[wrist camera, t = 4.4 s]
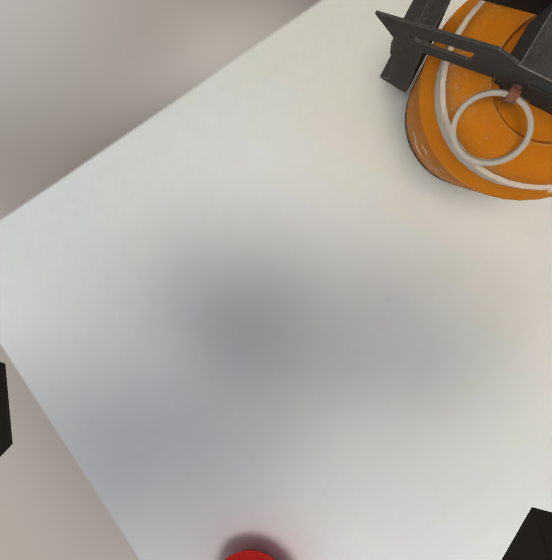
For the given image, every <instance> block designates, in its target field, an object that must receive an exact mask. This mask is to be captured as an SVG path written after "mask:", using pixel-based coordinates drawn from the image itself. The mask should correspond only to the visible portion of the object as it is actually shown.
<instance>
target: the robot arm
mask: <svg viewBox="0 0 552 560" xmlns="http://www.w3.org/2000/svg"><path fill="white" fill-rule="evenodd" d="M5 368H6V367H5V364H4V363H1V362H0V456H1V455H2V454H3V453H4V452H5V451H6V450H7V449H8V448H9V447H10V446H11V445H12V433H11V422H10V411H9V401H8V390H7V378H6V369H5ZM502 560H552V512H548V511H544V510H541V509H537V508H533V507H532V508H531V510H530V511H529V513H528V515H527V517H526V518H525V520H524V522H523V524H522V525H521V527H520V529H519V531H518V532H517V534H516V536H515V537H514V539H513V541H512V543H511V544H510V546H509V548H508V550H507V551H506V553H505V555H504V557H503V558H502Z"/></svg>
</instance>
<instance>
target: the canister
mask: <svg viewBox="0 0 552 560" xmlns="http://www.w3.org/2000/svg"><path fill="white" fill-rule="evenodd" d="M450 1H451V0H413V1H412V3H411V5H410V7H409V9H408V11H407V13H406V15H405V17H404V18H400V17H397V16H394V15H390V14H387V13H383V12H380V11H376V13H375V14H376V15H377V17H378V18H379V19H380V21H381V22H382V23H383V24H384V26H385V27H386V28H387V30H388V31H389V32H390V34H391V35H392V36H393V40H392V42H391V50H390V53H391V56H390V58H389V60H388V62H387V64H386V66H385V68H384V70H383V72H382V74H381V76H380V77H381V78H382V79H384V80H385V81H387V82H389V83H390V84H392V85H393V86H395V87H397V88H398V89H400V90H401V91H403V92H405V93H406V91H407V90H408V88H409V86H410V84H411V82H412V80H413V78H414V77H415V75H416V73H417V71H418V69H419V67H420V65H421V64H422V62H423V60H424V58H425V56H426V54H427V55H428V56H427V58H426V60H425V62H424V64H423V67H422V69H421V71H420V73H419V75H418V77H417V79H416V82H415V84H414V86H413V88H412V90H411V93H410V95H409V99H408V102H407V106H406V114H405V128H406V133H407V139H408V142H409V144H410V147H411V149H412V151H413V153H414V155H415V157H416V158H417V160H418V161H419V162H420V163H421V165H422V166H423V167H424V168H425V169H427V170H428V171H429V172H430V173H431V174H433V175H434V176H436V177H438V178H439V179H441V180H443V181H446V182H448V183H451V184H454V185H457V186H460V187H464V188H467V189H470V190H473V191H476V192H479V193H483V194H486V195H489V196H494V197H498V198H502V199H510V200H535V199H542V198H547V197H552V0H468V1H467V2H465V3H464V4H463V5H462V6H461V7H460V8H459V9H458V10H457V11H456V12H455V13H454V14H453V16H452V17H451V18H450V19H449V20H448V21H447V23H446V24H445V25H444V27H443V28H442V30H441V29H438V27H439V25H440V23H441V21H442V18H443V16H444V14H445V12H446V10H447V7H448V5H449V3H450ZM432 41H434V43H433V44H431V43H432Z"/></svg>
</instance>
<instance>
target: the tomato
mask: <svg viewBox="0 0 552 560" xmlns="http://www.w3.org/2000/svg"><path fill="white" fill-rule="evenodd" d="M225 560H274V559H273V558H272V557H270V556H269V555H267V554H265V553H262V552H259V551H253V550H246V551H241V552H238V553H235V554H233V555H231V556H229V557H228V558H226V559H225Z"/></svg>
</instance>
